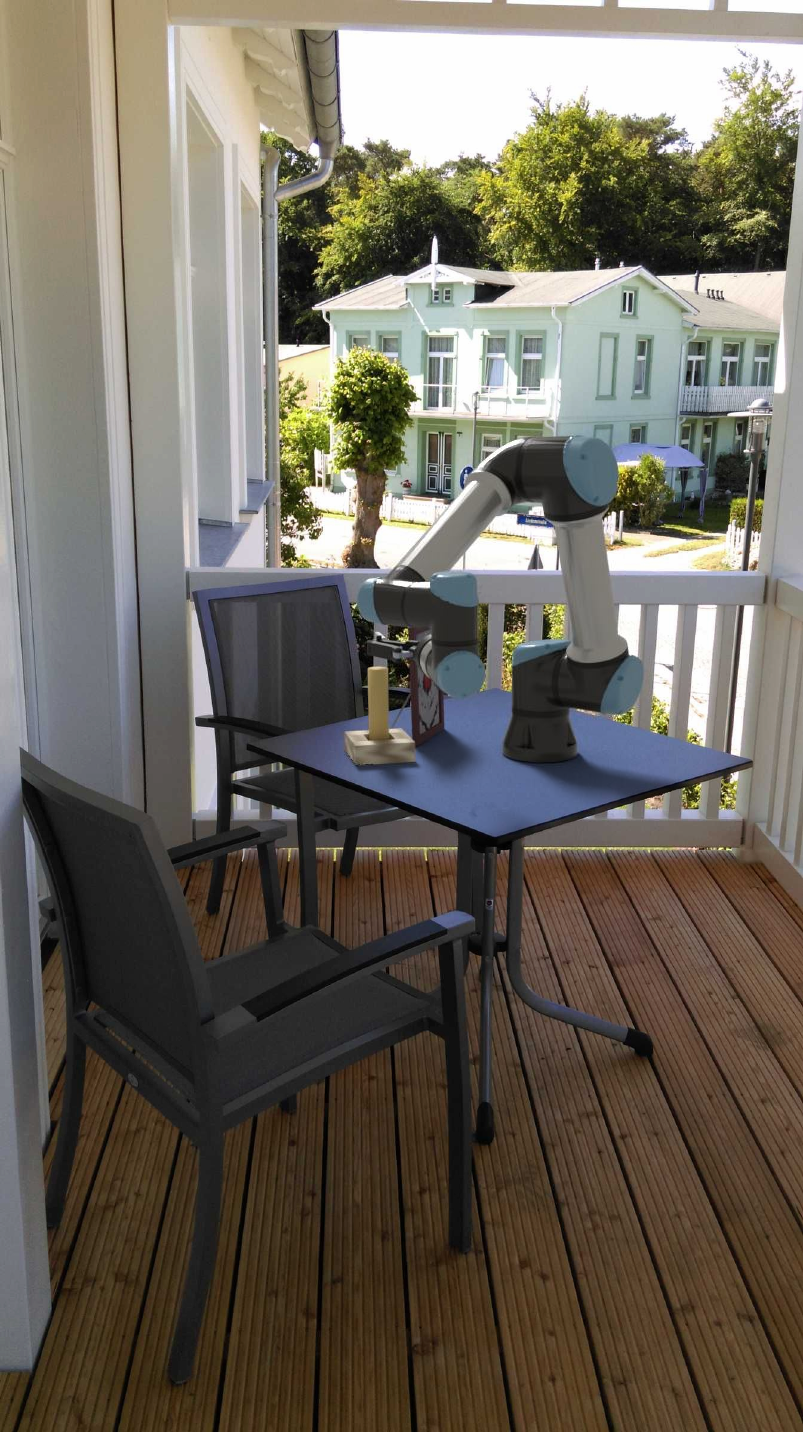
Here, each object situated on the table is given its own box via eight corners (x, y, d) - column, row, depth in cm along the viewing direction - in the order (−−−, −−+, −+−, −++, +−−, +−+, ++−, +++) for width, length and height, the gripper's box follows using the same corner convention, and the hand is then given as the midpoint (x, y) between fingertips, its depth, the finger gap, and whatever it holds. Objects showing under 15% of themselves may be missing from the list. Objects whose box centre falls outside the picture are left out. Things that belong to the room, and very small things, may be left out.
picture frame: (417, 746, 242) (417, 627, 236) (374, 742, 245) (373, 625, 240) (444, 729, 257) (444, 616, 251) (403, 725, 260) (402, 614, 255)
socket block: (401, 746, 242) (401, 728, 241) (415, 761, 230) (415, 742, 229) (344, 750, 239) (344, 731, 238) (355, 765, 228) (355, 745, 227)
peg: (386, 752, 237) (385, 666, 233) (391, 757, 233) (389, 669, 229) (367, 754, 236) (366, 667, 232) (371, 759, 232) (369, 670, 228)
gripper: (368, 685, 195) (347, 661, 215) (511, 675, 200) (477, 652, 220) (367, 641, 193) (346, 620, 213) (511, 632, 198) (477, 613, 218)
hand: (412, 636), depth 216 cm, fingers open, 13 cm apart
